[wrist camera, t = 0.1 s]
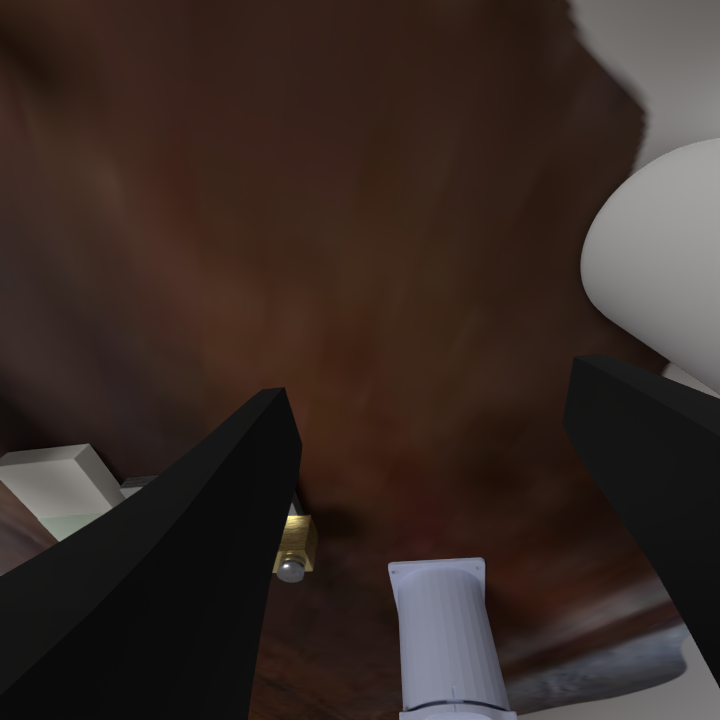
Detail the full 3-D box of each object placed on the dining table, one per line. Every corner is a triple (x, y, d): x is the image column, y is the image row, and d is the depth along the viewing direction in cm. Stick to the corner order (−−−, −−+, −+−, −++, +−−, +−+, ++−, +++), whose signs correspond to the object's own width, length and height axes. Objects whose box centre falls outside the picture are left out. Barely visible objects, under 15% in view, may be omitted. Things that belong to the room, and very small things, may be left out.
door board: (185, 574, 31) (164, 619, 28) (121, 577, 32) (93, 622, 29) (89, 443, 24) (45, 486, 21) (7, 452, 25) (-46, 494, 21)
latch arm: (320, 541, 24) (313, 590, 21) (163, 551, 26) (137, 598, 23) (308, 507, 22) (298, 556, 20) (140, 520, 24) (109, 567, 21)
